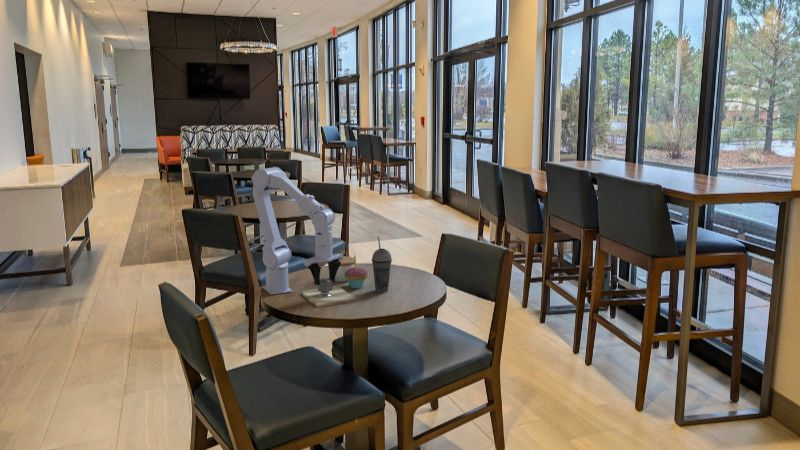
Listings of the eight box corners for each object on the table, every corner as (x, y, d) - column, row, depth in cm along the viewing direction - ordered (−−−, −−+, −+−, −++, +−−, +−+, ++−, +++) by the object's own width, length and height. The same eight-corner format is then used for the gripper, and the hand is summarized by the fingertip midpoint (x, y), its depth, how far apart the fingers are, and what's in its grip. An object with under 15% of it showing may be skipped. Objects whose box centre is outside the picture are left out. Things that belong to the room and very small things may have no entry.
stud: (316, 294, 205) (316, 289, 204) (328, 292, 207) (328, 288, 206) (321, 297, 201) (321, 293, 201) (333, 295, 203) (333, 291, 203)
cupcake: (342, 284, 220) (341, 253, 217) (363, 282, 222) (363, 251, 220) (348, 291, 212) (347, 258, 209) (370, 288, 215) (370, 256, 212)
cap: (314, 290, 203) (313, 279, 202) (325, 286, 207) (325, 276, 206) (323, 292, 200) (323, 282, 199) (335, 289, 204) (335, 278, 203)
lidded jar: (354, 283, 221) (354, 259, 219) (326, 283, 221) (325, 258, 219) (357, 275, 231) (357, 252, 229) (330, 275, 231) (329, 252, 230)
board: (301, 294, 208) (301, 291, 208) (338, 288, 214) (338, 286, 214) (317, 307, 194) (317, 304, 194) (356, 301, 200) (356, 298, 200)
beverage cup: (389, 294, 208) (389, 239, 204) (369, 293, 209) (369, 238, 205) (393, 288, 215) (394, 235, 211) (374, 287, 216) (374, 234, 212)
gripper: (311, 249, 193) (311, 289, 196) (348, 243, 202) (348, 281, 204) (300, 245, 198) (301, 284, 201) (337, 240, 207) (337, 277, 210)
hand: (324, 282), depth 203 cm, fingers closed on cap, 5 cm apart
